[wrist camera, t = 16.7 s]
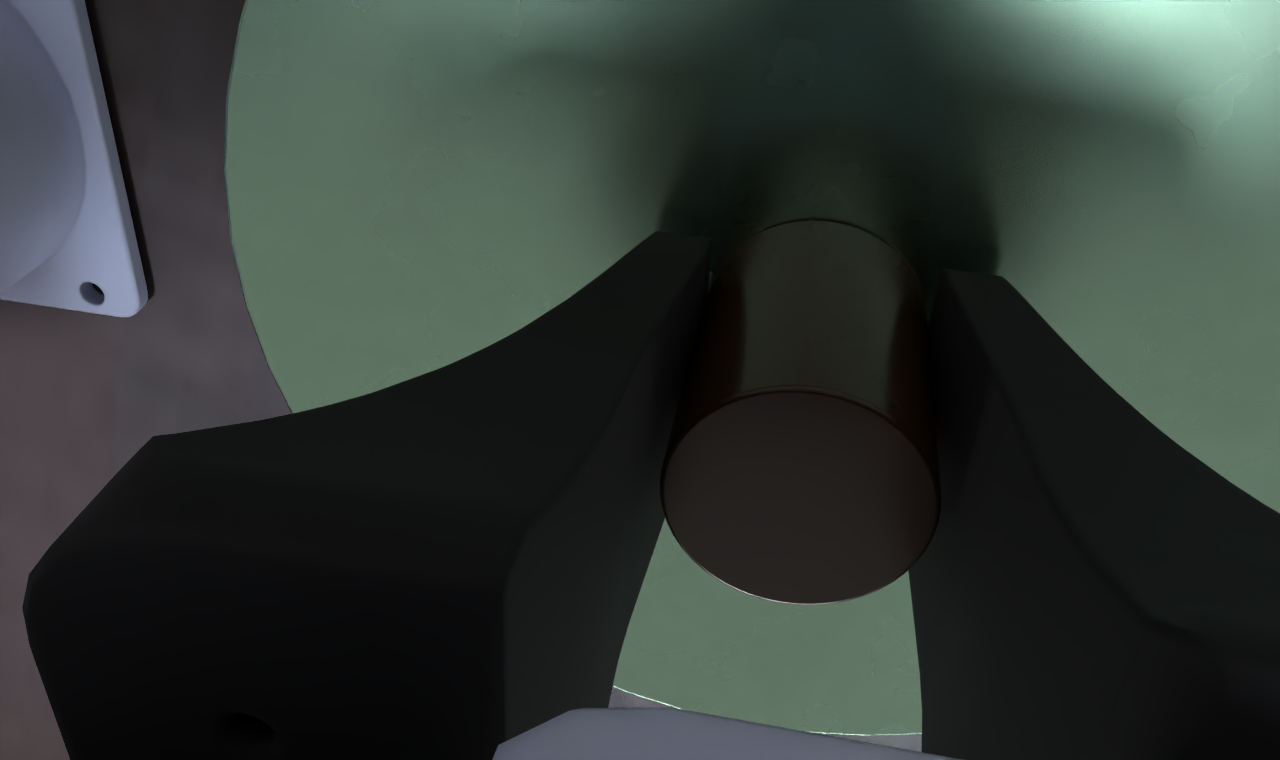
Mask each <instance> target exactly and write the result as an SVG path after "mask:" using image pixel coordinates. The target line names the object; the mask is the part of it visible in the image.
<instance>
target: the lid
mask: <svg viewBox="0 0 1280 760" xmlns="http://www.w3.org/2000/svg"><path fill="white" fill-rule="evenodd" d="M223 169H224V179H225V190H226V200H227V210H228V220H229V231H230V240H231V244H232V248H233V252H234V257H235V261H236V265H237V270H238V274H239V278H240V283H241V287H242V291H243V296H244V300H245V304H246V307H247V310H248V313H249V315H250V318H251V321H252V324H253V326H254V329H255V332H256V335H257V337H258V340H259V343H260V345H261V348H262V351H263V354H264V356H265V359H266V362H267V364H268V367H269V369H270V371H271V373H272V375H273V377H274V379H275V381H276V383H277V385H278V387H279V389H280V391H281V393H282V395H283V397H284V399H285V401H286V402H287V404H288V406H289V408H290V410H291V412H292V414H293V413H297V412H301V411H306V410H310V409H314V408H318V407H323V406H327V405H331V404H334V403H338V402H341V401H345V400H348V399H352V398H356V397H359V396H363V395H366V394H369V393H373V392H376V391H378V390H381V389H384V388H387V387H390V386H392V385H395V384H398V383H401V382H403V381H406V380H409V379H412V378H414V377H417V376H420V375H423V374H425V373H428V372H431V371H434V370H436V369H439V368H442V367H444V366H447V365H449V364H451V363H454V362H456V361H458V360H460V359H462V358H464V357H467V356H469V355H471V354H473V353H475V352H477V351H479V350H481V349H484V348H486V347H488V346H490V345H492V344H494V343H496V342H497V341H499V340H501V339H503V338H505V337H507V336H509V335H511V334H512V333H514V332H516V331H518V330H519V329H521V328H523V327H524V326H526V325H528V324H529V323H531V322H532V321H534V320H535V319H537V318H539V317H540V316H542V315H543V314H545V313H546V312H548V311H550V310H551V309H553V308H554V307H556V306H557V305H559V304H560V303H562V302H564V301H565V300H567V299H568V298H569V297H571V296H572V295H573V294H575V293H576V292H578V291H579V290H580V289H582V288H583V287H584V286H586V285H587V284H588V283H590V282H591V281H592V280H594V279H595V278H596V277H598V276H599V275H600V274H602V273H603V272H604V271H605V270H607V269H608V268H609V267H610V266H612V265H613V264H614V263H616V262H617V261H618V260H619V259H621V258H622V257H623V256H624V255H625V254H627V253H628V252H629V251H630V250H632V249H633V248H634V247H635V246H637V245H638V244H639V243H641V242H642V241H643V240H645V239H646V238H647V237H649V236H650V235H651V234H653V233H654V232H655V231H661V232H669V233H677V234H684V235H692V236H699V237H707V238H712V246H711V256H710V265H709V275H708V284H707V294H706V301H705V305H704V308H703V312H702V316H701V320H700V324H699V328H698V332H697V336H696V339H695V343H694V347H693V351H692V354H691V357H690V361H689V364H688V368H687V372H686V375H685V379H684V383H683V387H682V391H681V395H680V399H679V402H678V406H677V410H676V414H675V418H674V422H673V426H672V429H671V433H670V437H669V441H668V445H667V449H666V453H665V456H664V460H663V464H662V469H661V475H660V499H661V505H662V509H663V512H664V515H665V519H664V522H663V525H662V528H661V531H660V534H659V537H658V540H657V543H656V546H655V549H654V552H653V555H652V558H651V560H650V563H649V566H648V569H647V572H646V575H645V578H644V581H643V584H642V587H641V590H640V593H639V596H638V599H637V601H636V604H635V607H634V610H633V613H632V616H631V619H630V622H629V625H628V629H627V632H626V635H625V639H624V642H623V646H622V649H621V653H620V656H619V660H618V664H617V669H616V673H615V678H614V682H613V687H615V688H617V689H620V690H622V691H624V692H627V693H630V694H633V695H636V696H640V697H643V698H646V699H649V700H652V701H655V702H658V703H662V704H665V705H668V706H671V707H674V708H677V709H683V710H688V711H694V712H700V713H705V714H711V715H716V716H722V717H727V718H733V719H739V720H744V721H750V722H755V723H761V724H766V725H772V726H778V727H783V728H789V729H794V730H800V731H805V732H811V733H821V734H842V735H862V736H882V735H908V734H922V705H921V688H920V672H919V663H918V654H917V645H916V636H915V627H914V618H913V609H912V599H911V590H910V581H909V572H908V570H909V569H910V568H911V567H912V566H913V565H914V564H915V563H916V562H917V561H918V560H919V558H920V557H921V556H922V555H923V553H924V552H925V551H926V549H927V547H928V546H929V544H930V542H931V540H932V538H933V537H934V534H935V531H936V529H937V526H938V523H939V518H940V512H941V484H940V472H939V459H938V447H937V435H936V422H935V410H934V397H933V385H932V372H931V360H930V347H929V335H928V326H929V321H930V317H931V313H932V309H933V304H934V300H935V296H936V292H937V288H938V283H939V279H940V275H941V271H942V268H943V269H951V270H959V271H966V272H974V273H982V274H989V275H997V276H1003V277H1004V278H1005V279H1006V280H1007V281H1008V282H1009V283H1010V284H1011V285H1012V286H1013V287H1014V288H1015V289H1016V290H1017V291H1018V292H1019V293H1020V294H1021V295H1022V296H1023V297H1024V298H1025V299H1026V300H1027V301H1028V302H1029V304H1030V305H1031V306H1032V307H1033V308H1034V309H1035V310H1036V311H1037V312H1038V313H1039V314H1040V315H1041V316H1042V318H1043V319H1044V320H1045V321H1046V322H1047V323H1048V324H1049V325H1050V326H1051V327H1052V328H1053V329H1054V330H1055V332H1056V333H1057V334H1058V335H1059V336H1060V337H1061V338H1062V339H1063V340H1064V341H1065V342H1066V343H1067V344H1068V345H1069V346H1070V347H1071V348H1072V349H1073V350H1074V351H1075V352H1076V353H1077V354H1078V355H1079V356H1080V357H1081V358H1082V359H1083V360H1084V361H1085V362H1086V363H1087V364H1088V365H1089V366H1090V367H1091V368H1092V369H1093V370H1094V371H1095V372H1096V373H1097V374H1098V375H1099V376H1100V377H1101V378H1102V379H1103V380H1104V381H1105V382H1106V383H1107V384H1108V385H1109V386H1111V387H1112V388H1113V389H1114V390H1115V391H1116V392H1117V393H1118V394H1119V395H1120V396H1121V397H1123V398H1124V399H1125V400H1126V401H1127V402H1128V403H1129V404H1131V405H1132V406H1133V407H1134V408H1135V409H1136V410H1137V411H1139V412H1140V413H1141V414H1142V415H1143V416H1144V417H1145V418H1147V419H1148V420H1149V421H1150V422H1151V423H1152V424H1153V425H1155V426H1156V427H1157V428H1158V429H1160V430H1161V431H1162V432H1163V433H1165V434H1166V435H1167V436H1168V437H1170V438H1171V439H1172V440H1173V441H1175V442H1176V443H1177V444H1178V445H1180V446H1181V447H1182V448H1184V449H1185V450H1187V451H1188V452H1189V453H1191V454H1192V455H1193V456H1195V457H1196V458H1198V459H1199V460H1200V461H1202V462H1203V463H1205V464H1206V465H1207V466H1209V467H1210V468H1211V469H1213V470H1214V471H1216V472H1217V473H1218V474H1220V475H1221V476H1223V477H1224V478H1225V479H1227V480H1228V481H1230V482H1231V483H1233V484H1234V485H1235V486H1237V487H1239V488H1240V489H1242V490H1243V491H1245V492H1246V493H1248V494H1249V495H1251V496H1252V497H1254V498H1256V499H1257V500H1259V501H1260V502H1262V503H1263V504H1265V505H1267V506H1268V507H1270V508H1272V509H1273V510H1275V511H1277V512H1278V513H1280V0H246V1H245V4H244V7H243V10H242V13H241V16H240V21H239V27H238V32H237V38H236V43H235V49H234V54H233V60H232V65H231V71H230V76H229V82H228V87H227V93H226V114H225V139H224V165H223Z"/></svg>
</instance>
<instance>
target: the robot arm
mask: <svg viewBox="0 0 1280 760" xmlns="http://www.w3.org/2000/svg"><path fill="white" fill-rule="evenodd" d="M711 246H712V238H707V237H699V236H692V235H684V234H677V233H669V232H661V231H655V232H654V233H653V234H651V235H650V236H649V237H647V238H646V239H645V240H643V241H642V242H641V243H639V244H638V245H637V246H635V247H634V248H633V249H632V250H630V251H629V252H628V253H627V254H625V255H624V256H623V257H622V258H621V259H619V260H618V261H617V262H616V263H614V264H613V265H612V266H610V267H609V268H608V269H607V270H605V271H604V272H603V273H602V274H600V275H599V276H598V277H596V278H595V279H594V280H592V281H591V282H590V283H588V284H587V285H586V286H584V287H583V288H582V289H580V290H579V291H578V292H576V293H575V294H573V295H572V296H571V297H569V298H568V299H567V300H565V301H564V302H562V303H560V304H559V305H557V306H556V307H554V308H553V309H551V310H550V311H548V312H546V313H545V314H543V315H542V316H540V317H539V318H537V319H535V320H534V321H532V322H531V323H529V324H528V325H526V326H524V327H523V328H521V329H519V330H518V331H516V332H514V333H512V334H511V335H509V336H507V337H505V338H503V339H501V340H499V341H497V342H496V343H494V344H492V345H490V346H488V347H486V348H484V349H481V350H479V351H477V352H475V353H473V354H471V355H469V356H467V357H464V358H462V359H460V360H458V361H456V362H454V363H451V364H449V365H447V366H444V367H442V368H439V369H436V370H434V371H431V372H428V373H425V374H423V375H420V376H417V377H414V378H412V379H409V380H406V381H403V382H401V383H398V384H395V385H392V386H390V387H387V388H384V389H381V390H378V391H376V392H373V393H369V394H366V395H363V396H359V397H356V398H352V399H348V400H345V401H341V402H338V403H334V404H331V405H327V406H323V407H318V408H314V409H310V410H306V411H301V412H297V413H293V414H289V415H284V416H279V417H274V418H269V419H265V420H260V421H253V422H247V423H241V424H234V425H228V426H222V427H215V428H209V429H202V430H196V431H190V432H183V433H177V434H168V435H160V436H153V437H152V438H151V439H150V440H149V441H148V442H147V443H146V444H145V445H144V446H143V447H142V448H141V449H140V450H139V451H138V452H137V453H136V454H135V455H134V456H133V457H132V458H131V459H130V460H129V461H128V462H127V463H126V464H125V465H124V466H123V468H122V469H121V470H120V471H119V472H118V473H117V474H116V475H115V476H114V477H113V478H112V479H111V480H110V481H109V482H108V484H107V485H106V486H105V487H104V488H103V489H102V490H101V491H100V492H99V493H98V495H97V496H96V497H95V498H94V499H93V500H92V501H91V502H90V503H89V504H88V506H87V507H86V508H85V509H84V510H83V511H82V512H81V513H80V514H79V515H78V517H77V518H76V519H75V520H74V521H73V522H72V523H71V524H70V525H69V527H68V528H67V529H66V530H65V531H64V532H63V533H62V534H61V535H60V536H59V538H58V539H57V540H56V541H55V542H54V543H53V544H52V545H51V546H50V548H49V549H48V550H47V551H46V553H45V554H44V555H43V557H42V558H41V559H40V561H39V562H38V563H37V565H36V566H35V567H34V569H33V570H32V571H31V573H30V574H29V577H28V582H27V587H26V592H25V597H24V602H23V607H22V608H23V613H24V618H25V624H26V629H27V634H28V639H29V644H30V647H31V650H32V653H33V656H34V659H35V662H36V665H37V667H38V670H39V673H40V676H41V679H42V681H43V684H44V687H45V690H46V693H47V695H48V698H49V701H50V704H51V707H52V709H53V712H54V715H55V718H56V721H57V723H58V726H59V729H60V732H61V735H62V737H63V740H64V743H65V746H66V749H67V751H68V754H69V757H70V760H1280V513H1278V512H1277V511H1275V510H1273V509H1272V508H1270V507H1268V506H1267V505H1265V504H1263V503H1262V502H1260V501H1259V500H1257V499H1256V498H1254V497H1252V496H1251V495H1249V494H1248V493H1246V492H1245V491H1243V490H1242V489H1240V488H1239V487H1237V486H1235V485H1234V484H1233V483H1231V482H1230V481H1228V480H1227V479H1225V478H1224V477H1223V476H1221V475H1220V474H1218V473H1217V472H1216V471H1214V470H1213V469H1211V468H1210V467H1209V466H1207V465H1206V464H1205V463H1203V462H1202V461H1200V460H1199V459H1198V458H1196V457H1195V456H1193V455H1192V454H1191V453H1189V452H1188V451H1187V450H1185V449H1184V448H1182V447H1181V446H1180V445H1178V444H1177V443H1176V442H1175V441H1173V440H1172V439H1171V438H1170V437H1168V436H1167V435H1166V434H1165V433H1163V432H1162V431H1161V430H1160V429H1158V428H1157V427H1156V426H1155V425H1153V424H1152V423H1151V422H1150V421H1149V420H1148V419H1147V418H1145V417H1144V416H1143V415H1142V414H1141V413H1140V412H1139V411H1137V410H1136V409H1135V408H1134V407H1133V406H1132V405H1131V404H1129V403H1128V402H1127V401H1126V400H1125V399H1124V398H1123V397H1121V396H1120V395H1119V394H1118V393H1117V392H1116V391H1115V390H1114V389H1113V388H1112V387H1111V386H1109V385H1108V384H1107V383H1106V382H1105V381H1104V380H1103V379H1102V378H1101V377H1100V376H1099V375H1098V374H1097V373H1096V372H1095V371H1094V370H1093V369H1092V368H1091V367H1090V366H1089V365H1088V364H1087V363H1086V362H1085V361H1084V360H1083V359H1082V358H1081V357H1080V356H1079V355H1078V354H1077V353H1076V352H1075V351H1074V350H1073V349H1072V348H1071V347H1070V346H1069V345H1068V344H1067V343H1066V342H1065V341H1064V340H1063V339H1062V338H1061V337H1060V336H1059V335H1058V334H1057V333H1056V332H1055V330H1054V329H1053V328H1052V327H1051V326H1050V325H1049V324H1048V323H1047V322H1046V321H1045V320H1044V319H1043V318H1042V316H1041V315H1040V314H1039V313H1038V312H1037V311H1036V310H1035V309H1034V308H1033V307H1032V306H1031V305H1030V304H1029V302H1028V301H1027V300H1026V299H1025V298H1024V297H1023V296H1022V295H1021V294H1020V293H1019V292H1018V291H1017V290H1016V289H1015V288H1014V287H1013V286H1012V285H1011V284H1010V283H1009V282H1008V281H1007V280H1006V279H1005V278H1004V277H1003V276H997V275H989V274H982V273H974V272H966V271H959V270H951V269H943V268H942V271H941V275H940V279H939V283H938V288H937V292H936V296H935V300H934V304H933V309H932V313H931V317H930V321H929V326H928V335H929V347H930V360H931V372H932V385H933V397H934V410H935V422H936V435H937V447H938V459H939V472H940V484H941V512H940V518H939V523H938V526H937V529H936V531H935V534H934V537H933V538H932V540H931V542H930V544H929V546H928V547H927V549H926V551H925V552H924V553H923V555H922V556H921V557H920V558H919V560H918V561H917V562H916V563H915V564H914V565H913V566H912V567H911V568H910V569H909V570H908V572H909V581H910V590H911V599H912V609H913V618H914V627H915V636H916V645H917V654H918V663H919V672H920V688H921V705H922V752H917V751H911V750H906V749H900V748H894V747H889V746H883V745H878V744H872V743H867V742H861V741H855V740H850V739H844V738H839V737H833V736H828V735H822V734H816V733H811V732H805V731H800V730H794V729H789V728H783V727H778V726H772V725H766V724H761V723H755V722H750V721H744V720H739V719H733V718H727V717H722V716H716V715H711V714H705V713H700V712H694V711H688V710H683V709H677V708H608V705H609V700H610V696H611V691H612V687H613V682H614V678H615V673H616V669H617V664H618V660H619V656H620V653H621V649H622V646H623V642H624V639H625V635H626V632H627V629H628V625H629V622H630V619H631V616H632V613H633V610H634V607H635V604H636V601H637V599H638V596H639V593H640V590H641V587H642V584H643V581H644V578H645V575H646V572H647V569H648V566H649V563H650V560H651V558H652V555H653V552H654V549H655V546H656V543H657V540H658V537H659V534H660V531H661V528H662V525H663V522H664V519H665V515H664V512H663V509H662V505H661V499H660V475H661V469H662V464H663V460H664V456H665V453H666V449H667V445H668V441H669V437H670V433H671V429H672V426H673V422H674V418H675V414H676V410H677V406H678V402H679V399H680V395H681V391H682V387H683V383H684V379H685V375H686V372H687V368H688V364H689V361H690V357H691V354H692V351H693V347H694V343H695V339H696V336H697V332H698V328H699V324H700V320H701V316H702V312H703V308H704V305H705V301H706V294H707V284H708V275H709V265H710V256H711ZM92 283H93V284H96V285H97V286H98V287H99V288H100V289H101V290H102V292H103V294H104V295H103V294H100V293H99V292H97V291H96V290H95V289H94V287H93V285H92ZM0 299H1V300H8V301H15V302H22V303H28V304H35V305H42V306H49V307H55V308H62V309H69V310H76V311H83V312H89V313H96V314H103V315H110V316H116V317H131V316H133V315H134V314H136V313H137V312H139V311H140V310H141V309H142V308H143V307H144V306H145V304H146V302H147V301H148V291H147V286H146V281H145V277H144V272H143V268H142V263H141V258H140V254H139V249H138V244H137V240H136V235H135V231H134V226H133V221H132V217H131V212H130V208H129V203H128V198H127V194H126V189H125V184H124V180H123V175H122V171H121V166H120V161H119V157H118V152H117V148H116V143H115V138H114V134H113V129H112V124H111V120H110V115H109V111H108V106H107V101H106V97H105V92H104V87H103V83H102V78H101V74H100V69H99V64H98V60H97V55H96V51H95V46H94V41H93V37H92V32H91V27H90V23H89V18H88V14H87V9H86V4H85V0H0Z"/></svg>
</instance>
